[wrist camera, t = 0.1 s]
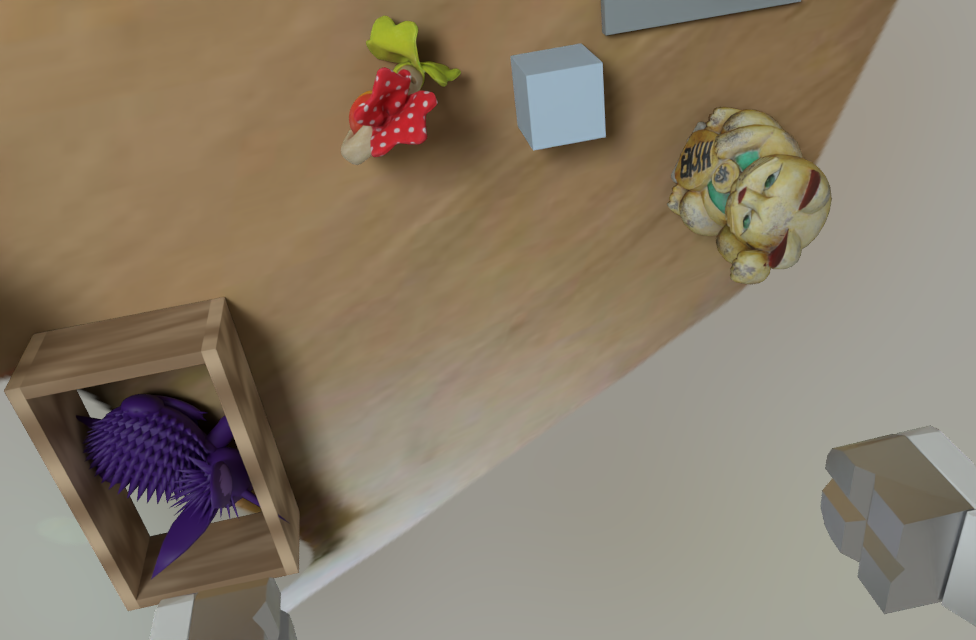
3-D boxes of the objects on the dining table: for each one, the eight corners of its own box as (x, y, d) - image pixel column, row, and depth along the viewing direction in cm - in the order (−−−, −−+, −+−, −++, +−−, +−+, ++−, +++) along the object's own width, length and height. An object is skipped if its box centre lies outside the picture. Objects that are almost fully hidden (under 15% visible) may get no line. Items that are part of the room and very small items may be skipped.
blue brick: (510, 55, 56) (526, 76, 52) (581, 43, 57) (602, 62, 53) (517, 125, 59) (533, 150, 55) (585, 113, 59) (605, 136, 55)
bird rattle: (407, 126, 60) (481, 40, 54) (384, 236, 53) (466, 150, 47) (331, 80, 57) (400, -17, 51) (296, 188, 50) (371, 91, 44)
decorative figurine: (694, 85, 60) (796, 160, 47) (790, 108, 62) (911, 186, 50) (647, 206, 64) (729, 304, 52) (738, 223, 67) (837, 321, 54)
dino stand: (33, 334, 61) (3, 390, 55) (224, 297, 62) (215, 348, 56) (142, 546, 73) (127, 611, 67) (299, 512, 74) (298, 572, 69)
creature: (272, 499, 73) (265, 613, 63) (56, 440, 66) (9, 557, 55) (314, 427, 69) (313, 534, 59) (91, 356, 62) (47, 465, 52)
